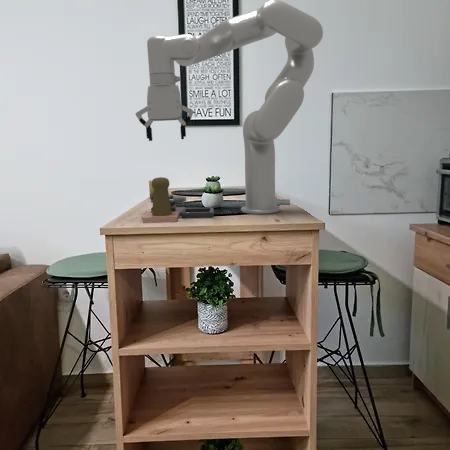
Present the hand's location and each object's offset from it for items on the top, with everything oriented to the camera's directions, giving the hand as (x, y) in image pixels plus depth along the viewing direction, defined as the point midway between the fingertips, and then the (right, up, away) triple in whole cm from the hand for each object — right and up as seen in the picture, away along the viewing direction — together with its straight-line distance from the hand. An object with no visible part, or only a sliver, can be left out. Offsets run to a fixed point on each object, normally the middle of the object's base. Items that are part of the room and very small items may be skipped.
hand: (166, 140), depth 140 cm
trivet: (-1, -24, -1) cm, 24 cm away
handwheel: (-1, -18, +13) cm, 22 cm away
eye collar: (+9, -23, +4) cm, 25 cm away
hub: (-1, -21, +14) cm, 25 cm away
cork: (-1, -23, -2) cm, 23 cm away
